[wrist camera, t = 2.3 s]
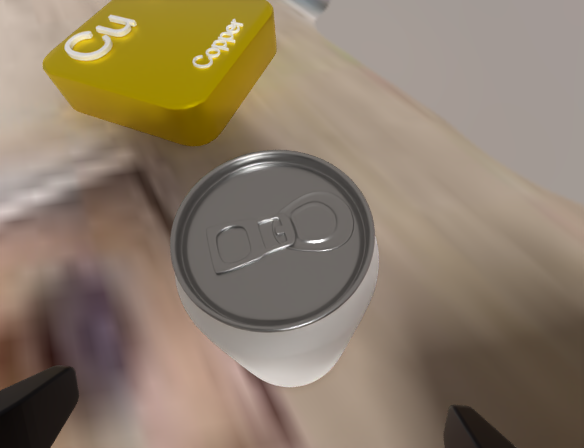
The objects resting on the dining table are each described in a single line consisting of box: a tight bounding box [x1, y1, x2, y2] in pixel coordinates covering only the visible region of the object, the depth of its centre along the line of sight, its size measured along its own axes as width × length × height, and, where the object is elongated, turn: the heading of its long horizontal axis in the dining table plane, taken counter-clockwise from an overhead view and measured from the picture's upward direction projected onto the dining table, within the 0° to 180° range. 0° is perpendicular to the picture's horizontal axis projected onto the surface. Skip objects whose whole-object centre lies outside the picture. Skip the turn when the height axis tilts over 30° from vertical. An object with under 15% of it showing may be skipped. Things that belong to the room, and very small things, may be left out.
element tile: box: [43, 0, 276, 146], centre depth 30 cm, size 15×15×5 cm
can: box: [170, 150, 379, 387], centre depth 15 cm, size 6×6×12 cm
